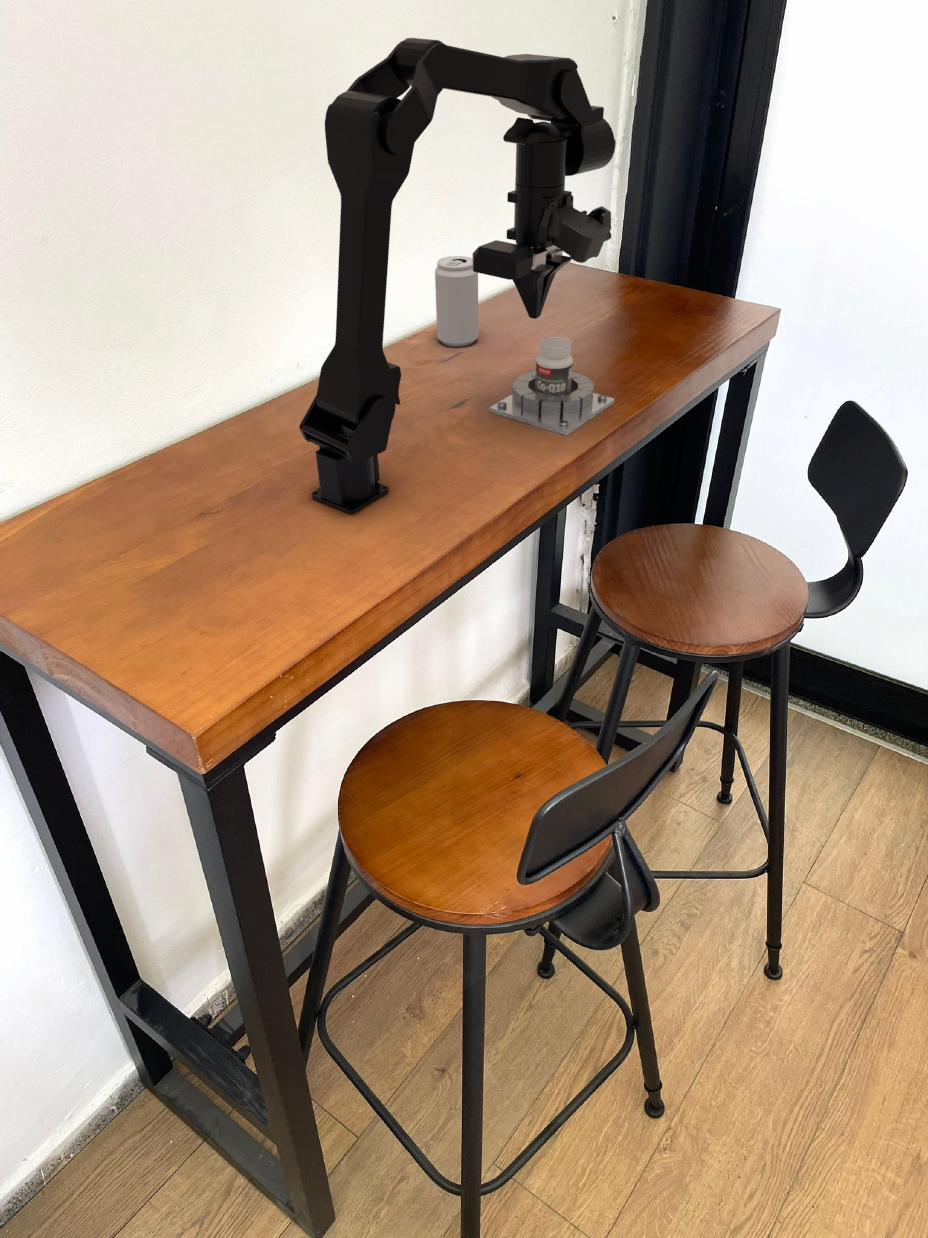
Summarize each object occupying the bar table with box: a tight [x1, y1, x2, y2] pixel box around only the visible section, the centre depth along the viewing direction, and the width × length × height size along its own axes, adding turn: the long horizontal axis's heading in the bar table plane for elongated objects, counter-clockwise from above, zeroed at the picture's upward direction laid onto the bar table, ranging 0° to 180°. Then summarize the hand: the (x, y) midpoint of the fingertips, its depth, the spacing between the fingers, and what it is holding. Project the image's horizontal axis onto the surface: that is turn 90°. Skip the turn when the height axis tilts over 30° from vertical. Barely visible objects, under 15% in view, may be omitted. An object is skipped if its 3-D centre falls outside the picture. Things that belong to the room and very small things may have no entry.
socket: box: [488, 370, 615, 436], centre depth 122 cm, size 12×12×3 cm
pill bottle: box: [535, 336, 574, 396], centre depth 120 cm, size 5×5×8 cm
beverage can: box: [434, 255, 480, 348], centre depth 139 cm, size 6×6×12 cm
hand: (534, 317), depth 116 cm, fingers closed
